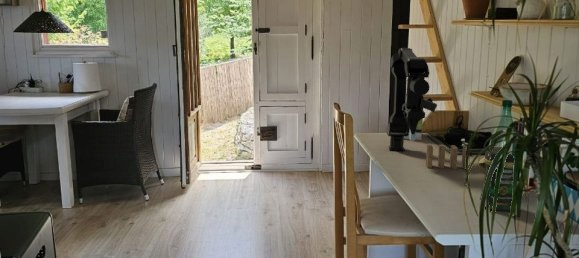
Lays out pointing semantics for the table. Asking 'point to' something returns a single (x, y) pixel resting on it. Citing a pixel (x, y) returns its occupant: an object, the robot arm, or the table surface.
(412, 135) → the blue-grey rectangular block
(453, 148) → the domino
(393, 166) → the table surface
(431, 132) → the table surface
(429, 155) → the domino
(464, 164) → the domino
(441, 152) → the domino
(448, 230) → the table surface
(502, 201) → the coffee jar
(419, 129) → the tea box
